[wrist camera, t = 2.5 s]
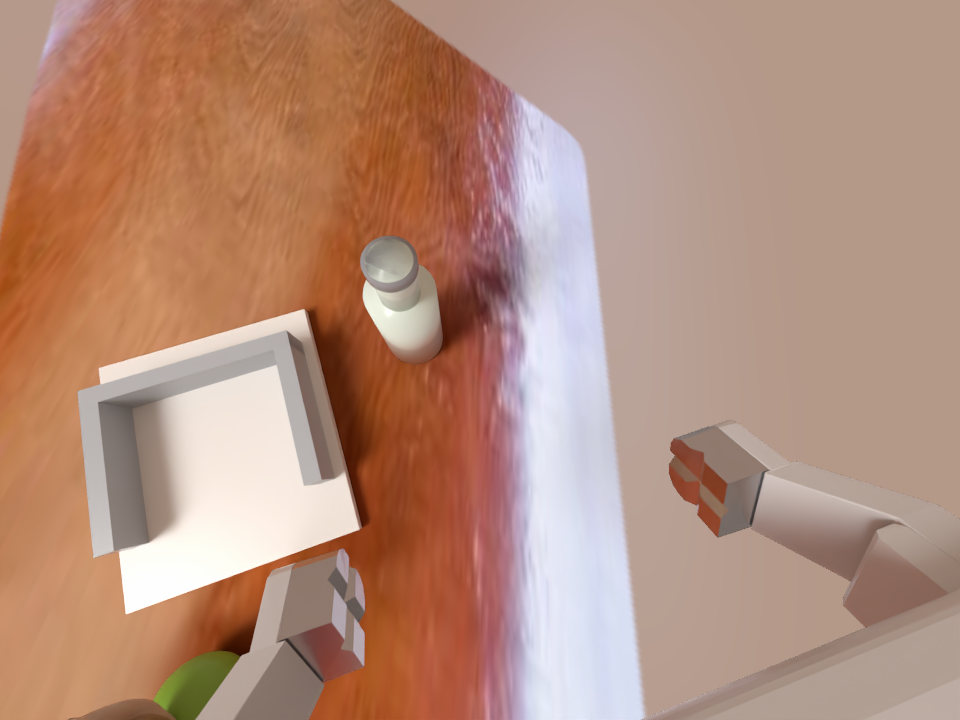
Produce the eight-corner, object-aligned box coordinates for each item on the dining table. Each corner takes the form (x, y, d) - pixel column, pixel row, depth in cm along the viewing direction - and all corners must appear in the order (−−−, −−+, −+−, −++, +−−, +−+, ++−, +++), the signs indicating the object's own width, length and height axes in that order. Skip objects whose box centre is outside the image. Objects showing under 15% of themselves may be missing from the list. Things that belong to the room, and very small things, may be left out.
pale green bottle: (449, 354, 34) (443, 286, 21) (396, 371, 33) (357, 311, 21) (433, 306, 35) (418, 213, 22) (381, 321, 34) (335, 235, 22)
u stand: (362, 527, 30) (348, 536, 26) (135, 610, 28) (85, 631, 24) (307, 312, 34) (289, 293, 30) (107, 370, 32) (61, 357, 28)
